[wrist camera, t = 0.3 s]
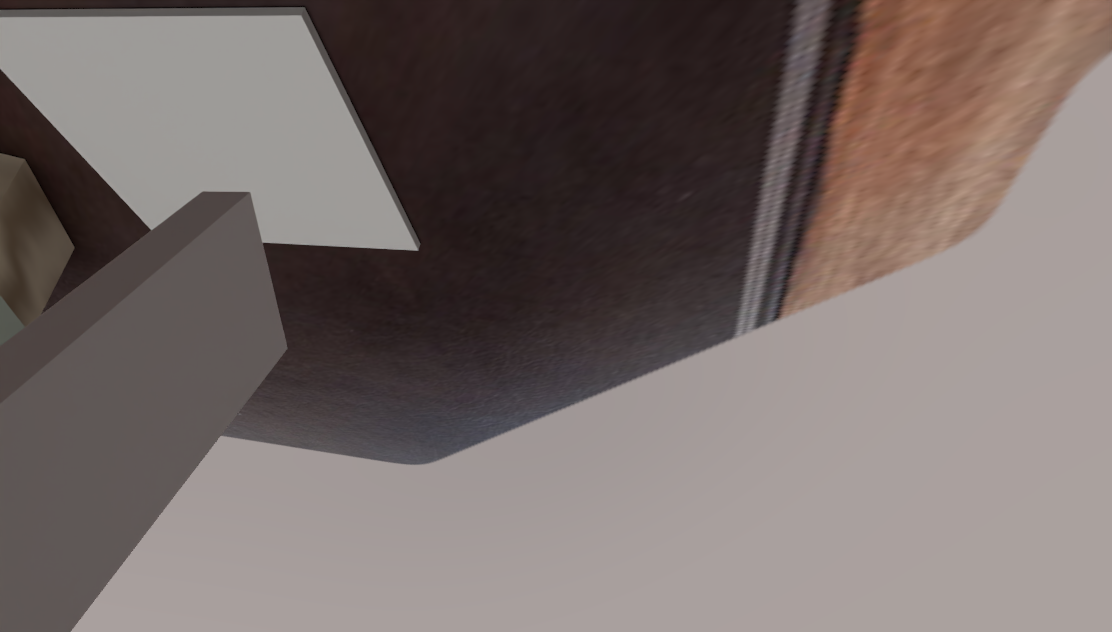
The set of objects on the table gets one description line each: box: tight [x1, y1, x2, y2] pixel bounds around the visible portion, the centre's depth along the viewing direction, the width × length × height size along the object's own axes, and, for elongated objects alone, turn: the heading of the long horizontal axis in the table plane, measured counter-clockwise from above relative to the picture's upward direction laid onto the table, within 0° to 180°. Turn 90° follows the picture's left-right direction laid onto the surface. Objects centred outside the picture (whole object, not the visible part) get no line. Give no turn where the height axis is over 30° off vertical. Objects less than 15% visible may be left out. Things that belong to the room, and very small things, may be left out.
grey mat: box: [0, 7, 420, 250], centre depth 36 cm, size 14×14×1 cm
